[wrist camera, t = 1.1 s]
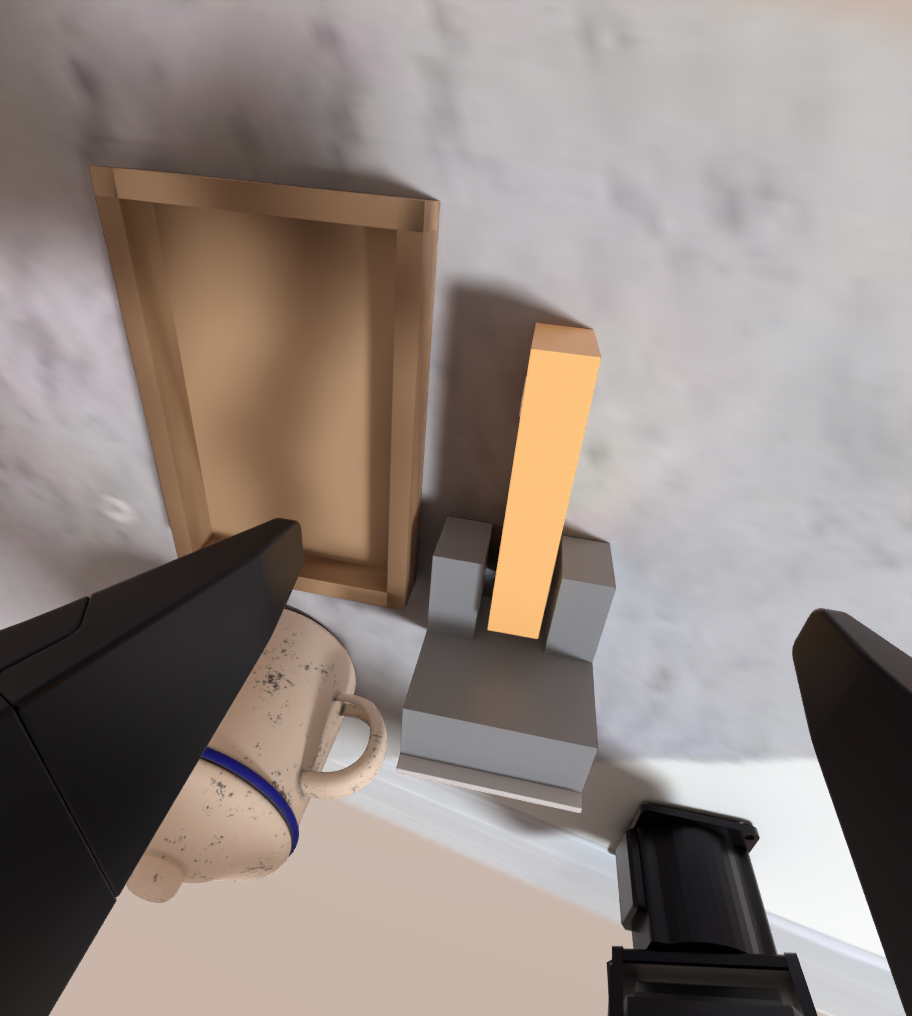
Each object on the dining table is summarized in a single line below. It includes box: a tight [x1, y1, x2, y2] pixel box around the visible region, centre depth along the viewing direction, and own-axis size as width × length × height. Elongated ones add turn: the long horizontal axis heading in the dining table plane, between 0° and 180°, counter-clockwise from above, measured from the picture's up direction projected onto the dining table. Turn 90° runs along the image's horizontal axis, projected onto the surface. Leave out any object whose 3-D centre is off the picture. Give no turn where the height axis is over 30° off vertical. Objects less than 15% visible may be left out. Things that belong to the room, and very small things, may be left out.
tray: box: [88, 165, 440, 610], centre depth 21 cm, size 11×16×2 cm
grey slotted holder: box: [396, 516, 616, 813], centre depth 21 cm, size 7×7×8 cm
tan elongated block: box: [487, 323, 601, 639], centre depth 20 cm, size 2×11×4 cm, turn 175°
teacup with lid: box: [126, 609, 387, 903], centre depth 24 cm, size 12×9×12 cm
